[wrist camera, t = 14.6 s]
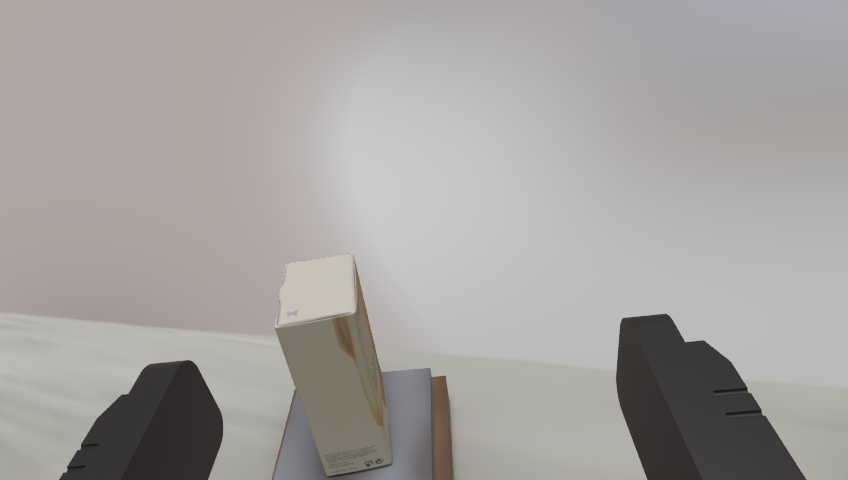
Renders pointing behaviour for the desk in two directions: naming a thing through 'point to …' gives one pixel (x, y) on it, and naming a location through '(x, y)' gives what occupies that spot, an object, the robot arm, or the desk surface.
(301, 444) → the metal plate on wood
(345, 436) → the skincare box
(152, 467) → the robot arm
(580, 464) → the desk surface
